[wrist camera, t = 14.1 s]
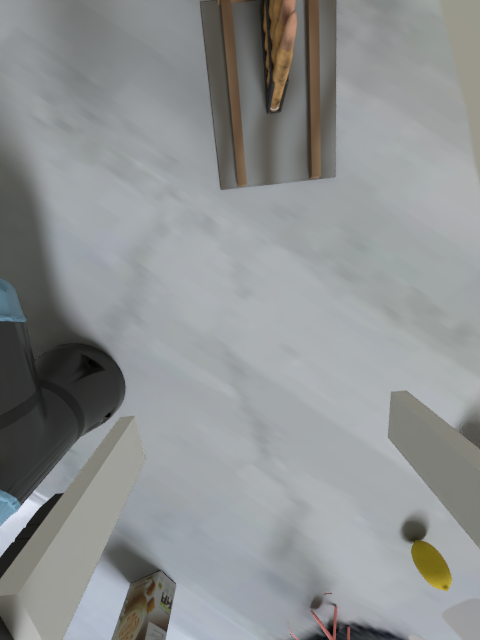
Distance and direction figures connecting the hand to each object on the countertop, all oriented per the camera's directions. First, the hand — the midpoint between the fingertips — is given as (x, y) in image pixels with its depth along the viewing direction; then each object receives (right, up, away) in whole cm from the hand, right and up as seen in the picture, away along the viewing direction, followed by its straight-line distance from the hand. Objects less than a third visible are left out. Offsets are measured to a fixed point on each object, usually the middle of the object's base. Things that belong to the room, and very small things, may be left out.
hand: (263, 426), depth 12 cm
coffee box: (-21, -56, +43) cm, 74 cm away
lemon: (+37, -43, +40) cm, 69 cm away
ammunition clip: (+3, +38, +17) cm, 42 cm away
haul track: (+3, +36, +18) cm, 40 cm away
